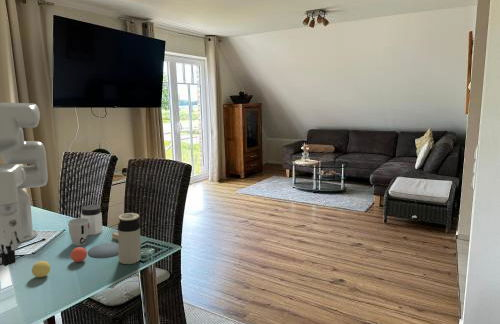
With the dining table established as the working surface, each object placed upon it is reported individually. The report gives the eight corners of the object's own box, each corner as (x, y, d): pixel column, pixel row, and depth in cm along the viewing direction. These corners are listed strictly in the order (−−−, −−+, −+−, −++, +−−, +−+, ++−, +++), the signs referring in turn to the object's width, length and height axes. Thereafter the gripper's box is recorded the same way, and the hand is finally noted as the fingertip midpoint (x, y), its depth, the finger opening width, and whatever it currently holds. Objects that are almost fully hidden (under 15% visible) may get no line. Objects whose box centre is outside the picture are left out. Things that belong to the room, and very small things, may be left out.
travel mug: (120, 266, 129) (118, 220, 126) (118, 257, 136) (116, 213, 133) (142, 262, 132) (141, 218, 129) (139, 254, 139) (138, 211, 136)
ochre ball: (28, 278, 118) (27, 263, 117) (42, 271, 123) (41, 257, 122) (41, 281, 116) (40, 266, 115) (54, 274, 121) (53, 259, 120)
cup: (81, 248, 143) (80, 225, 141) (64, 245, 144) (63, 223, 142) (94, 240, 150) (93, 218, 149) (78, 238, 152) (76, 217, 150)
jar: (79, 236, 155) (78, 210, 153) (83, 229, 163) (82, 205, 161) (100, 235, 157) (99, 209, 155) (103, 228, 165) (103, 204, 163)
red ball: (67, 263, 130) (67, 249, 129) (78, 257, 135) (78, 243, 134) (79, 265, 128) (79, 251, 127) (90, 259, 133) (89, 246, 132)
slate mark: (102, 261, 132) (102, 260, 132) (80, 252, 139) (80, 251, 139) (131, 248, 144) (131, 248, 144) (110, 240, 151) (110, 240, 151)
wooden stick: (137, 247, 145) (137, 242, 145) (112, 238, 153) (112, 233, 153) (141, 246, 147) (140, 240, 146) (116, 237, 155) (116, 232, 154)
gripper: (29, 209, 106) (33, 265, 109) (5, 201, 114) (10, 254, 116) (2, 215, 100) (7, 274, 102) (-22, 206, 107) (-16, 262, 110)
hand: (8, 263), depth 109 cm, fingers closed
